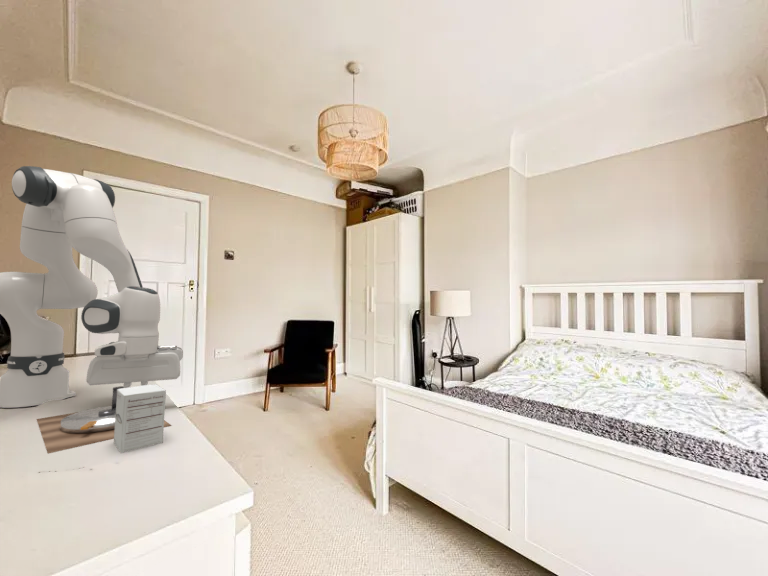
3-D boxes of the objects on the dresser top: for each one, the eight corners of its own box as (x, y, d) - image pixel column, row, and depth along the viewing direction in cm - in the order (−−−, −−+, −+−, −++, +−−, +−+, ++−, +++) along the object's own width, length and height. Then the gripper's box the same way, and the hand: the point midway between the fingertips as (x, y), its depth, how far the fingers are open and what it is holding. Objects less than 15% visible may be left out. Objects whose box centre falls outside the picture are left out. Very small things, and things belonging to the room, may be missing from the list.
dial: (128, 432, 74) (130, 403, 74) (35, 440, 69) (38, 408, 69) (154, 408, 91) (156, 384, 92) (82, 413, 86) (84, 387, 87)
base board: (35, 425, 82) (36, 418, 82) (138, 407, 98) (139, 401, 98) (47, 461, 64) (47, 452, 64) (171, 431, 80) (171, 424, 80)
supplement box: (112, 449, 69) (116, 388, 70) (154, 440, 75) (157, 383, 76) (118, 461, 64) (123, 395, 65) (163, 450, 70) (167, 389, 71)
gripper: (183, 344, 98) (180, 391, 97) (93, 346, 88) (89, 399, 87) (182, 346, 92) (179, 397, 92) (86, 349, 82) (82, 406, 82)
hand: (135, 398), depth 89 cm, fingers closed
